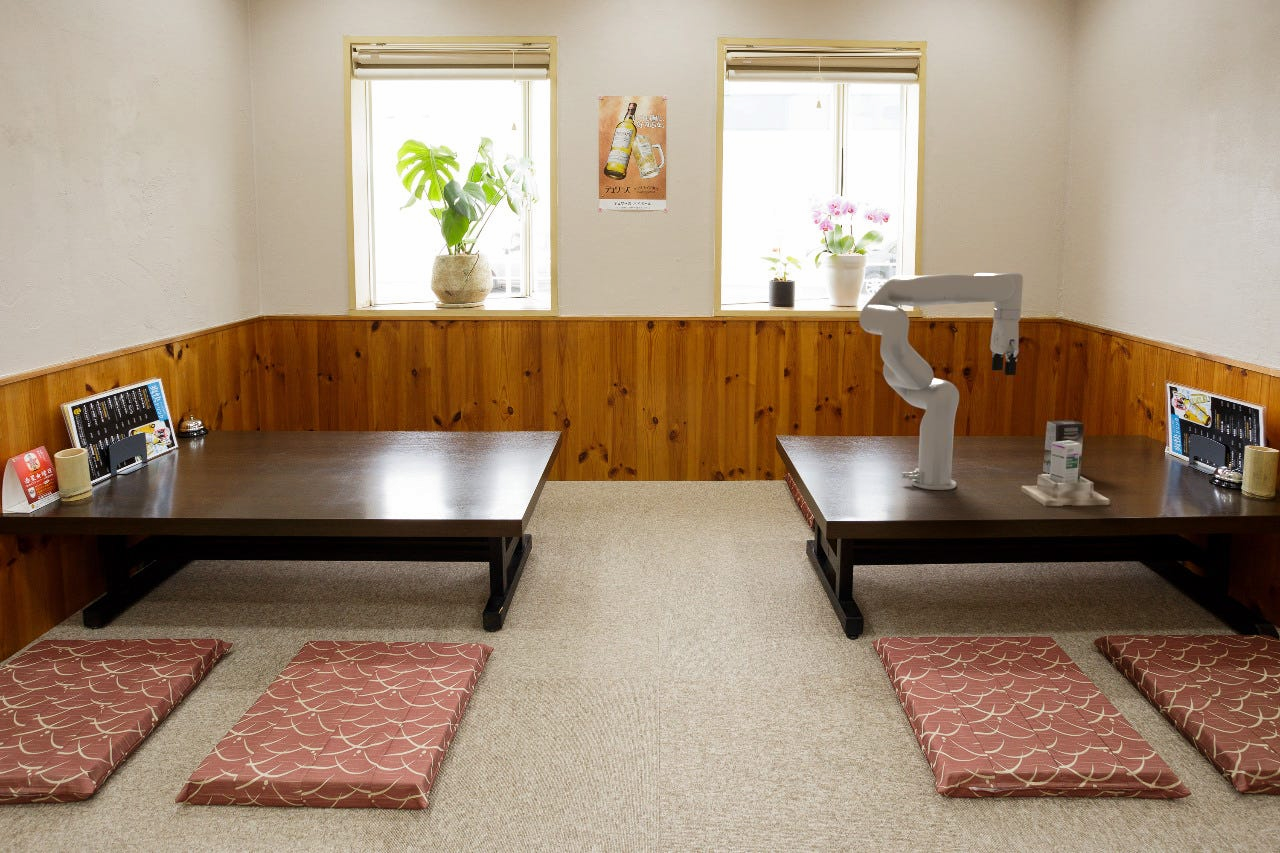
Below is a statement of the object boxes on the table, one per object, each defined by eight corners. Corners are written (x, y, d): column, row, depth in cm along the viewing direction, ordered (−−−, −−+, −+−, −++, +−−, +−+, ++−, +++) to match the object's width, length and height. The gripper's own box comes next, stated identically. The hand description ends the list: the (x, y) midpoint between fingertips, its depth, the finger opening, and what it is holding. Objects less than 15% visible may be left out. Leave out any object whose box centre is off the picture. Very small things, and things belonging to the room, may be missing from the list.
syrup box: (1062, 495, 288) (1066, 445, 285) (1048, 490, 293) (1051, 440, 290) (1079, 493, 289) (1083, 443, 287) (1064, 488, 295) (1068, 439, 292)
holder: (1044, 505, 283) (1046, 486, 282) (1021, 490, 299) (1022, 472, 298) (1109, 504, 284) (1110, 485, 283) (1082, 489, 299) (1083, 471, 298)
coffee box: (1054, 476, 315) (1058, 424, 312) (1042, 471, 321) (1045, 420, 318) (1081, 474, 317) (1085, 423, 314) (1068, 469, 323) (1072, 419, 320)
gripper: (983, 312, 313) (980, 368, 316) (1006, 318, 296) (1002, 377, 299) (1008, 312, 313) (1004, 368, 317) (1031, 317, 296) (1027, 376, 300)
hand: (1003, 372), depth 308 cm, fingers open, 9 cm apart
